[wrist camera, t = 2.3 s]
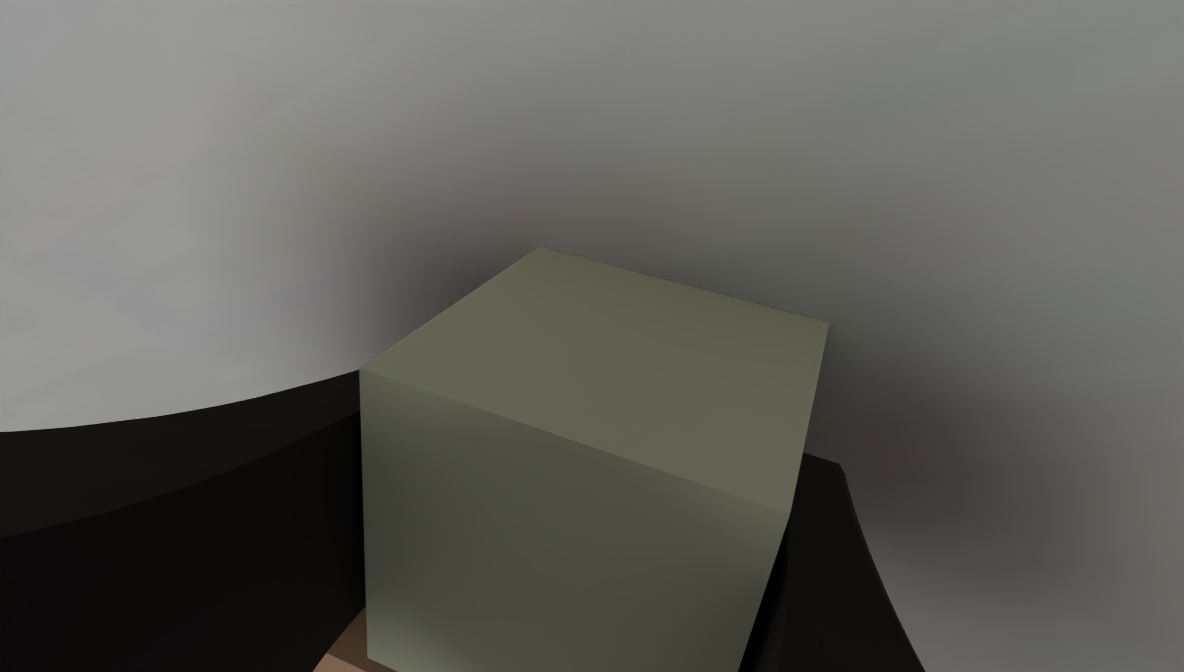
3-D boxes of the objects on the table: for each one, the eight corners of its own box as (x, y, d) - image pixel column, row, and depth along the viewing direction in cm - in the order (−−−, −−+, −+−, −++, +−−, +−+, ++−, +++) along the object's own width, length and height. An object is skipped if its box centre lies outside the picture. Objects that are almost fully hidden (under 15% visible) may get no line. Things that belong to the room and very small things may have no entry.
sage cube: (829, 321, 10) (789, 514, 6) (756, 556, 12) (692, 809, 8) (539, 245, 11) (358, 367, 7) (518, 470, 13) (367, 658, 10)
